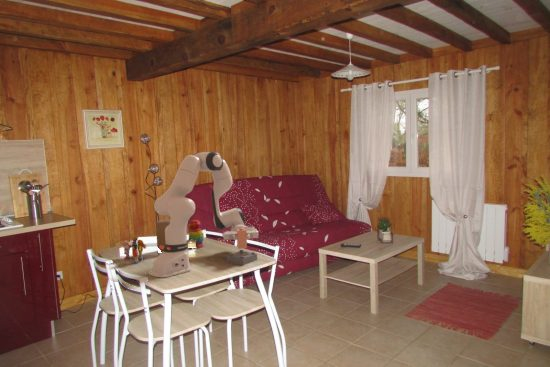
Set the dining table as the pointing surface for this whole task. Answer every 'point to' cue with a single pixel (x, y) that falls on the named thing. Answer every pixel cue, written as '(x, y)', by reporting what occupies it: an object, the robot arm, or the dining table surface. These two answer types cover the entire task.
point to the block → (161, 231)
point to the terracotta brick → (241, 238)
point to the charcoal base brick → (242, 257)
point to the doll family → (134, 249)
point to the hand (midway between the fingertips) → (241, 237)
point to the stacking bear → (196, 233)
